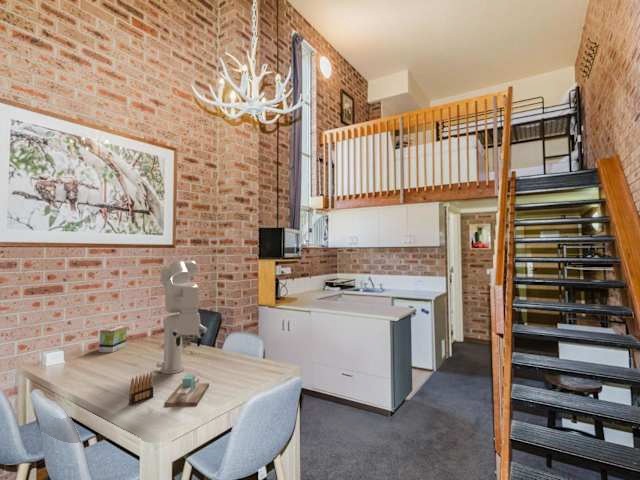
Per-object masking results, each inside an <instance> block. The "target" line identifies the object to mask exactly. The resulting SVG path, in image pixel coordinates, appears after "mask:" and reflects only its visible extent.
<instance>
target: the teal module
mask: <svg viewBox="0 0 640 480" xmlns="http://www.w3.org/2000/svg"><path fill="white" fill-rule="evenodd" d="M195 377H196V374H195V373H194V374H193V373H192V374H190V373H189V374H185V376H183V378H182V382H181V384H182V388H191V393H192V392H193V390H194V389H195Z"/></svg>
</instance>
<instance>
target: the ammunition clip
mask: <svg viewBox="0 0 640 480" xmlns="http://www.w3.org/2000/svg"><path fill="white" fill-rule="evenodd" d="M128 394H129V397H128V405H129V406H134V405H136V403H137V404H139V403H142V402H144V401H147V400H150V399H152V398H154V378H153V371H150V374H149V373H148V372H147V373H146V375H145V373H143V375H141V374H140V375H139V377H138V376H136V377H135V378H134V377H132V378H131V381H130V389H129V393H128Z"/></svg>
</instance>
